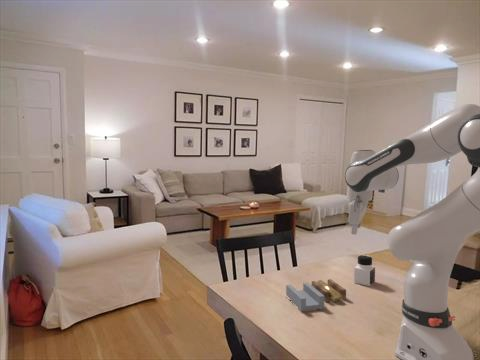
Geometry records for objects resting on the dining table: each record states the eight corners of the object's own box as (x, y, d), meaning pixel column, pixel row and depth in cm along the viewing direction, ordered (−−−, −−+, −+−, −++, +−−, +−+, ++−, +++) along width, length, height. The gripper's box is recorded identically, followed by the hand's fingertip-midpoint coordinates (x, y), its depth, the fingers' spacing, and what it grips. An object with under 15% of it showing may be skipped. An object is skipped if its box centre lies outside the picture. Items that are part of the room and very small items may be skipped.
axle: (341, 301, 137) (341, 292, 136) (332, 303, 136) (332, 293, 135) (324, 288, 150) (324, 279, 150) (315, 289, 149) (315, 280, 149)
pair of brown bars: (346, 299, 138) (346, 289, 138) (325, 302, 136) (325, 292, 136) (330, 288, 150) (330, 279, 149) (311, 290, 148) (311, 281, 147)
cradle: (324, 308, 130) (324, 295, 130) (300, 312, 128) (300, 298, 127) (307, 294, 144) (307, 282, 143) (286, 296, 141) (286, 284, 141)
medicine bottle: (370, 286, 151) (370, 259, 150) (353, 283, 156) (354, 256, 155) (375, 281, 157) (375, 255, 156) (359, 278, 161) (359, 253, 160)
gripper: (365, 200, 116) (361, 239, 119) (371, 190, 135) (368, 225, 137) (345, 197, 119) (342, 236, 121) (354, 188, 137) (351, 222, 140)
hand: (356, 230), depth 129 cm, fingers open, 8 cm apart
